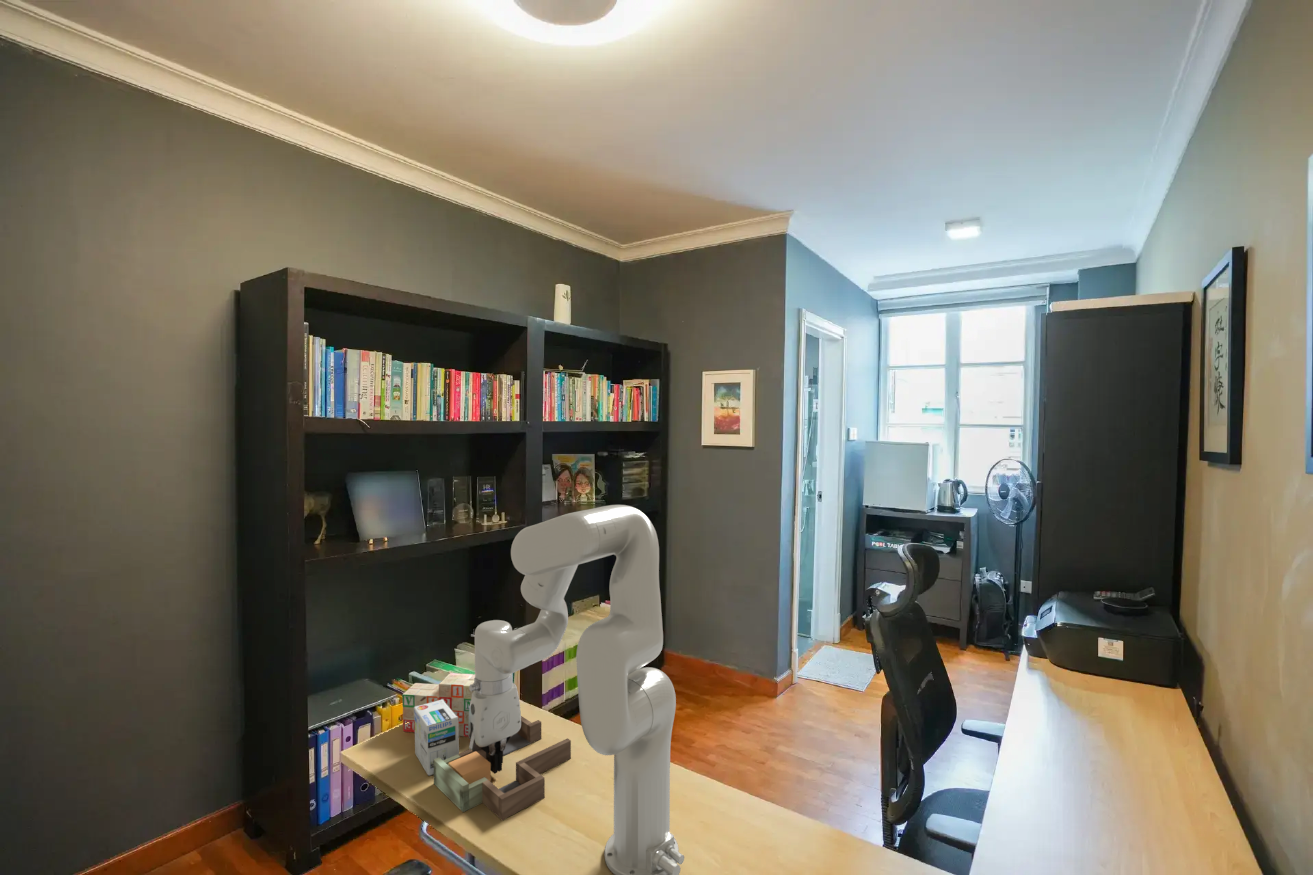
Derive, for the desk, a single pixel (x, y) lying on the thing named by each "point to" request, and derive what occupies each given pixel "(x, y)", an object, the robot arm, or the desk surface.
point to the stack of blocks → (449, 690)
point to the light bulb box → (435, 733)
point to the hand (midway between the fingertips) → (494, 769)
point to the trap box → (515, 793)
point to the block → (472, 767)
